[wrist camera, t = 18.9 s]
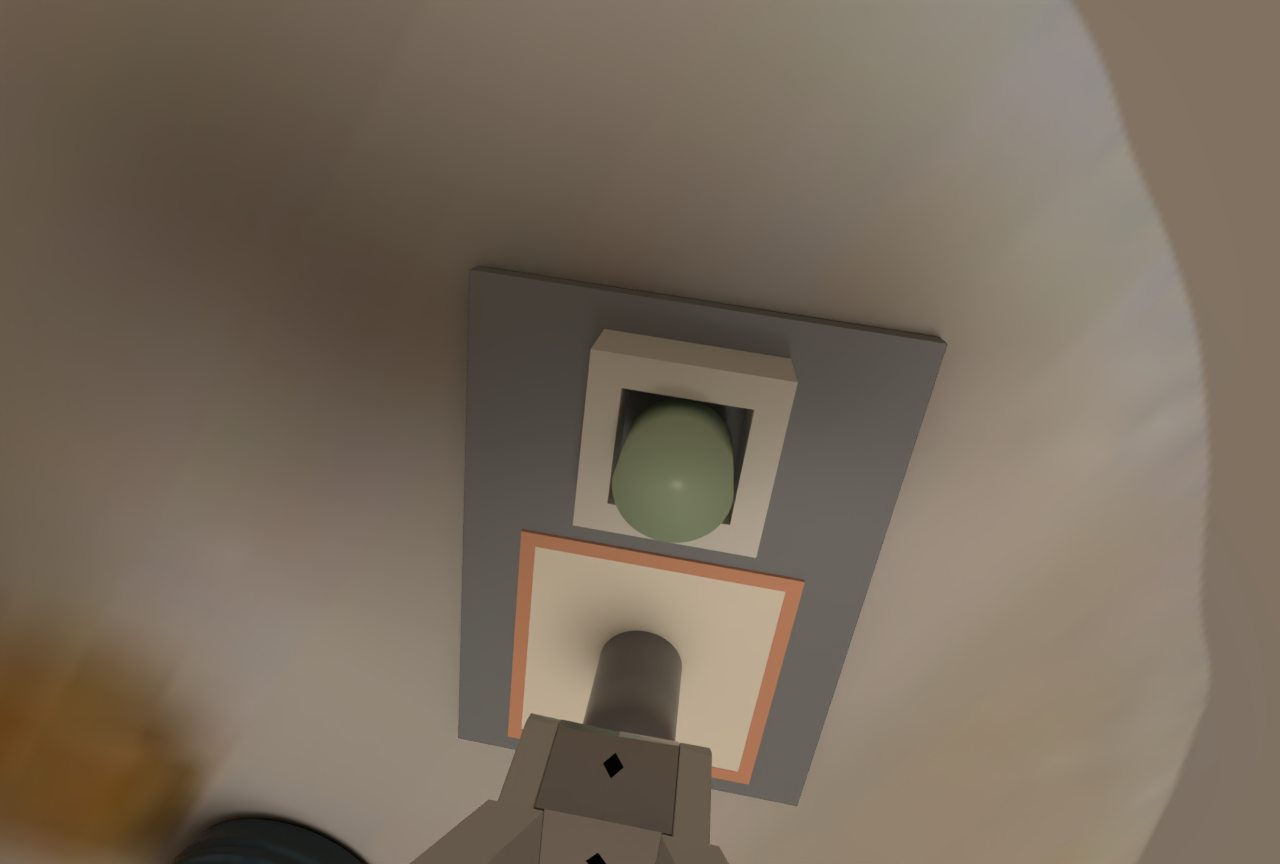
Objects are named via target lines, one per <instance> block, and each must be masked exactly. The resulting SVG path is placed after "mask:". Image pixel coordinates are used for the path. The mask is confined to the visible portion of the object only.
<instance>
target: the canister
mask: <svg viewBox="0 0 1280 864" xmlns="http://www.w3.org/2000/svg"><path fill="white" fill-rule="evenodd" d="M172 864H363V863H362V862H360V861H359V860H358V859H357V858H356V857H354V856H353V855H352V854H350V853H349V852H348V851H346V850H345V849H343V848H342V847H340V846H339V845H337V844H336V843H334V842H332V841H330V840H328V839H327V838H325V837H323V836H320V835H318V834H316V833H314V832H311V831H309V830H306V829H304V828H301V827H298V826H294V825H291V824H287V823H283V822H278V821H272V820H264V819H240V820H232V821H227V822H223V823H220V824H217V825H215V826H213V827H210V828H209V829H207V830H205V831H204V832H203V833H202V834H201V835H200V836H199V837H198V838H197V839H196V840H195V841H194V842H193V843H192V844H191V845H190V846H188V847H187V848H186V849H184V850H183V851H182V852H181V853H180V854H179V855H178V856H177V857H176V858H175V859H174V861H173V862H172Z"/></svg>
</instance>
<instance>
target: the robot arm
mask: <svg viewBox="0 0 1280 864" xmlns="http://www.w3.org/2000/svg"><path fill="white" fill-rule="evenodd" d="M711 772H712V753H711V750H710V748H707V747H702V746H696V745H691V744H686V743H680V744H679V742H677V741H672V740H666V739H661V738H655V737H649V736H644V735H638V734H633V733H627V732H622V731H620V732H617V731H612V730H608V729H603V728H599V727H594V726H590V725H585V724H581V723H576V722H572V721H567V720H563V719H556V718H552V717H547V716H542V715H537V714H533V713H531V714H530V716H529V717H528V719H527V721H526V723H525V726H524V728H523V731H522V734H521V737H520V740H519V743H518V745H517V748H516V751H515V754H514V757H513V760H512V762H511V765H510V768H509V771H508V774H507V776H506V779H505V782H504V785H503V788H502V791H501V793H500V796H499V799H498V801H493V800H488V801H486V802H485V803H484V804H483V805H481V806H480V807H479V808H478V809H477V810H475V811H474V812H473V813H472V814H470V815H469V816H468V817H467V818H465V819H464V820H463V821H462V822H461V823H459V824H458V825H457V826H456V827H454V828H453V829H452V830H451V831H449V832H448V833H447V834H446V835H445V836H443V837H442V838H441V839H440V840H438V841H437V842H436V843H435V844H433V845H432V846H431V847H430V848H429V849H427V850H426V851H425V852H424V853H422V854H421V855H420V856H419V857H417V858H416V859H415V860H414V861H413V862H411V863H410V864H729V863H728V861H727V860H726V858H725V856H724V854H723V853H722V851H721V849H720V847H719V846H716V845H712V844H710V808H711Z"/></svg>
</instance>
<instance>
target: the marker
mask: <svg viewBox="0 0 1280 864" xmlns="http://www.w3.org/2000/svg"><path fill="white" fill-rule="evenodd" d="M681 673H682V662H681V658H680V656H679V653H678V652H677V650H676V649H675V648H674V646H673V645H672V644H671V643H670V642H668V641H667V640H666V639H664V638H662V637H661V636H659V635H656V634H654V633H650V632H646V631H627V632H623V633H620V634H618V635H616V636H614V637H612V638H611V639H610V640H609V641H608V642H607V643H606V644H605V645H604V647H603V649H602V651H601V654H600V658H599V662H598V666H597V670H596V674H595V678H594V682H593V686H592V690H591V693H590V697H589V701H588V705H587V709H586V713H585V717H584V721H583V724H585V725H590V726H594V727H599V728H603V729H608V730H612V731H617V732H620V731H622V732H627V733H633V734H638V735H644V736H649V737H655V738H661V739H666V740H672V741H675V738H676V727H677V716H678V705H679V695H680V684H681Z"/></svg>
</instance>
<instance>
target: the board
mask: <svg viewBox="0 0 1280 864" xmlns="http://www.w3.org/2000/svg"><path fill="white" fill-rule="evenodd" d="M946 347H947V343H946V342H945V341H944V340H942V339H941V338H940V337H933V336H927V335H920V334H914V333H908V332H901V331H895V330H888V329H882V328H875V327H869V326H862V325H856V324H850V323H843V322H837V321H830V320H824V319H817V318H811V317H804V316H798V315H792V314H785V313H779V312H772V311H766V310H759V309H753V308H746V307H740V306H733V305H727V304H721V303H714V302H708V301H701V300H695V299H688V298H682V297H675V296H669V295H663V294H656V293H650V292H643V291H637V290H630V289H624V288H617V287H611V286H605V285H598V284H592V283H585V282H579V281H572V280H566V279H559V278H553V277H547V276H540V275H534V274H527V273H521V272H514V271H508V270H501V269H495V268H489V267H482V266H477V267H474V268H472V269H470V283H469V323H468V364H467V404H466V444H465V484H464V525H463V565H462V605H461V646H460V686H459V726H458V738H460V739H465V740H470V741H475V742H480V743H485V744H490V745H495V746H500V747H505V748H510V749H515V750H516V748H517V745H518V743H519V740H520V737H521V734H522V731H523V728H524V726H525V723H526V721H527V719H528V717H529V716H530V714H531V713H533V714H537V715H542V716H547V717H552V718H556V719H563V720H567V721H572V722H576V723H581V724H583V721H584V717H585V713H586V709H587V705H588V701H589V697H590V693H591V690H592V686H593V682H594V678H595V674H596V670H597V666H598V662H599V658H600V654H601V651H602V649H603V647H604V645H605V644H606V643H607V642H608V641H609V640H610V639H611V638H612V637H614V636H616V635H618V634H620V633H623V632H627V631H646V632H650V633H654V634H656V635H659V636H661V637H662V638H664V639H666V640H667V641H668V642H670V643H671V644H672V645H673V646H674V648H675V649H676V650H677V652H678V653H679V656H680V658H681V662H682V673H681V684H680V695H679V705H678V716H677V727H676V738H675V741H677V742H679V744H680V743H686V744H691V745H696V746H702V747H707V748H710V750H711V753H712V772H711V789H714V790H719V791H724V792H729V793H734V794H739V795H744V796H749V797H754V798H759V799H764V800H769V801H774V802H779V803H784V804H789V805H794V806H797V805H798V802H799V799H800V796H801V793H802V790H803V787H804V784H805V781H806V778H807V774H808V771H809V768H810V765H811V762H812V759H813V756H814V753H815V750H816V747H817V744H818V741H819V738H820V734H821V731H822V728H823V725H824V722H825V719H826V716H827V713H828V710H829V707H830V704H831V701H832V698H833V694H834V691H835V688H836V685H837V682H838V679H839V676H840V673H841V670H842V667H843V664H844V661H845V658H846V654H847V651H848V648H849V645H850V642H851V639H852V636H853V633H854V630H855V627H856V624H857V621H858V618H859V614H860V611H861V608H862V605H863V602H864V599H865V596H866V593H867V590H868V587H869V584H870V581H871V578H872V574H873V571H874V568H875V565H876V562H877V559H878V556H879V553H880V550H881V547H882V544H883V541H884V538H885V534H886V531H887V528H888V525H889V522H890V519H891V516H892V513H893V510H894V507H895V504H896V501H897V498H898V494H899V491H900V488H901V485H902V482H903V479H904V476H905V473H906V470H907V467H908V464H909V461H910V458H911V454H912V451H913V448H914V445H915V442H916V439H917V436H918V433H919V430H920V427H921V424H922V421H923V418H924V414H925V411H926V408H927V405H928V402H929V399H930V396H931V393H932V390H933V387H934V384H935V381H936V378H937V374H938V371H939V368H940V365H941V362H942V359H943V356H944V353H945V350H946ZM673 398H683V399H690V400H694V401H697V402H700V403H702V404H704V405H706V406H708V407H710V408H711V409H713V410H714V411H715V412H716V413H717V414H718V415H719V416H720V417H721V418H722V419H723V420H724V422H725V423H726V425H727V426H728V428H729V431H730V433H731V436H732V440H733V471H734V495H733V502H732V505H731V508H730V511H729V513H728V515H727V516H726V518H725V519H724V521H723V522H722V523H721V524H720V525H719V526H718V527H717V528H716V529H715V530H714V531H712V532H711V533H709V534H708V535H706V536H704V537H702V538H699V539H696V540H693V541H689V542H682V543H669V542H662V541H658V540H655V539H652V538H649V537H647V536H645V535H643V534H641V533H640V532H638V531H636V530H635V529H634V528H633V527H631V526H630V525H629V524H628V523H627V522H626V521H625V520H624V518H623V517H622V516H621V514H620V512H619V511H618V509H617V507H616V504H615V502H614V498H613V493H612V479H613V474H614V471H615V468H616V465H617V463H618V460H619V457H620V454H621V451H622V449H623V446H624V443H625V440H626V437H627V435H628V432H629V429H630V427H631V425H632V423H633V421H634V420H635V418H636V417H637V416H638V415H639V414H640V413H641V412H642V411H643V410H644V409H646V408H647V407H649V406H650V405H652V404H654V403H657V402H659V401H662V400H666V399H673Z"/></svg>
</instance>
